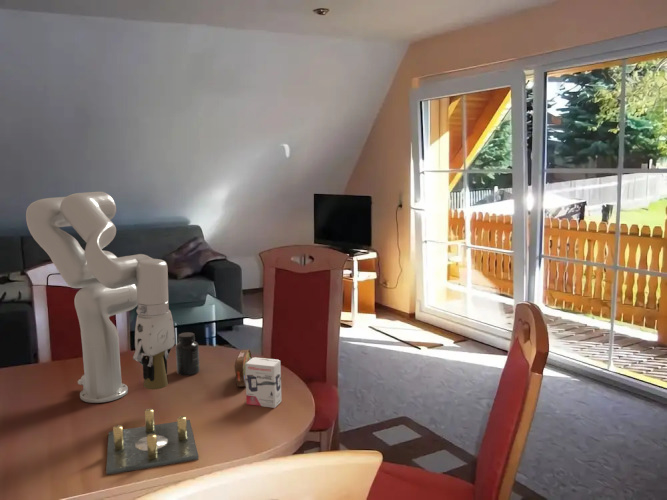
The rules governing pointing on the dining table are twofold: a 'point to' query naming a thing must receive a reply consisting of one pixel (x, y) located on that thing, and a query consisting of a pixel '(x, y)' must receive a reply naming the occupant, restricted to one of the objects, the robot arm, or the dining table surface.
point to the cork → (157, 373)
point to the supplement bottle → (187, 355)
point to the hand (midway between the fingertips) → (155, 375)
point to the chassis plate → (141, 456)
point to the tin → (242, 367)
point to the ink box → (263, 382)
